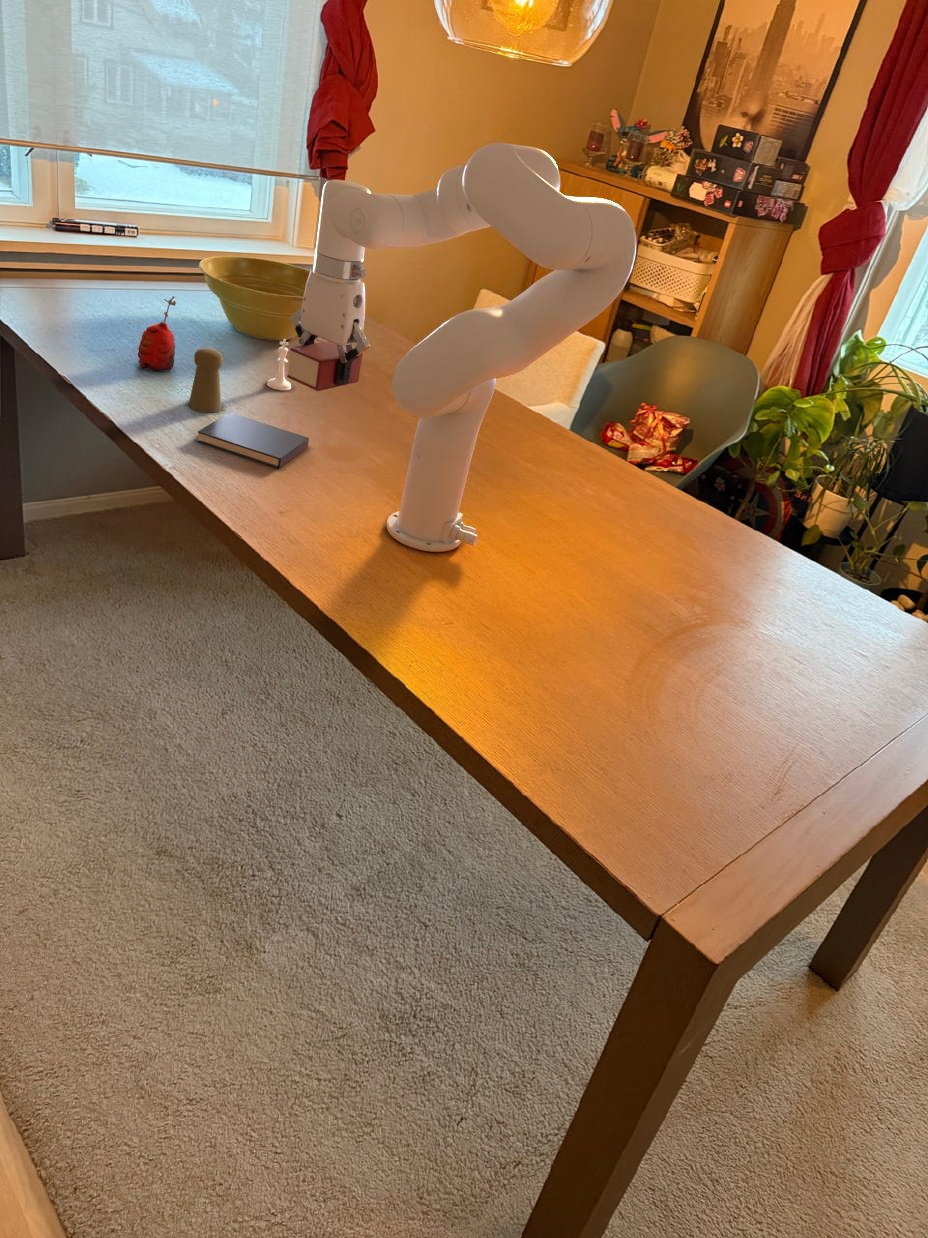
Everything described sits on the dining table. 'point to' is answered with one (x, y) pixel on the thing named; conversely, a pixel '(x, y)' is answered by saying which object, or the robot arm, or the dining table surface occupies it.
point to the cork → (206, 381)
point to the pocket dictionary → (318, 365)
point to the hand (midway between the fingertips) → (323, 375)
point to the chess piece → (280, 371)
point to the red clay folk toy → (157, 346)
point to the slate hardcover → (253, 440)
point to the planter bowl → (257, 293)
